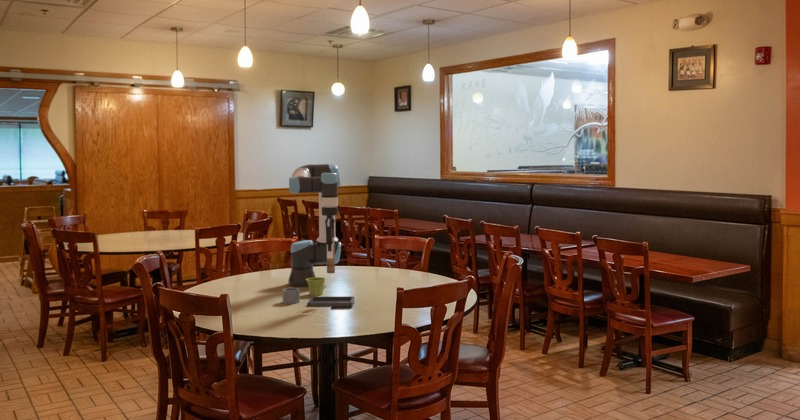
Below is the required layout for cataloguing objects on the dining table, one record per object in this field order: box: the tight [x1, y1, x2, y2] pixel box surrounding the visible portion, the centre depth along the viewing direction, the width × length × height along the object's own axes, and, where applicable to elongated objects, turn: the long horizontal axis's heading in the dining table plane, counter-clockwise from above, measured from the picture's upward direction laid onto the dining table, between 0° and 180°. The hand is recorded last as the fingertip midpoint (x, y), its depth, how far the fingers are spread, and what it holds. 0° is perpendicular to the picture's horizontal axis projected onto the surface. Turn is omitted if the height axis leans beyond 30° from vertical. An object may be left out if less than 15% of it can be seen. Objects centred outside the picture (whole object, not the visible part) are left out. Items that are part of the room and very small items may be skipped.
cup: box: [281, 287, 301, 305], centre depth 314 cm, size 8×8×7 cm
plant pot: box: [306, 276, 326, 297], centre depth 332 cm, size 9×9×9 cm
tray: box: [307, 295, 355, 309], centre depth 312 cm, size 14×20×2 cm
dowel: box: [326, 238, 336, 274], centre depth 310 cm, size 4×4×16 cm
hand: (330, 257), depth 310 cm, fingers closed on dowel, 3 cm apart
